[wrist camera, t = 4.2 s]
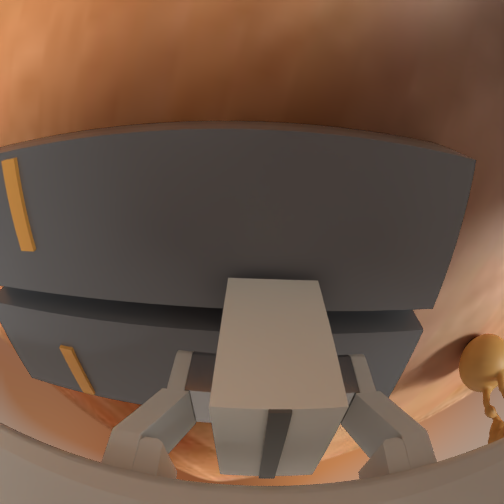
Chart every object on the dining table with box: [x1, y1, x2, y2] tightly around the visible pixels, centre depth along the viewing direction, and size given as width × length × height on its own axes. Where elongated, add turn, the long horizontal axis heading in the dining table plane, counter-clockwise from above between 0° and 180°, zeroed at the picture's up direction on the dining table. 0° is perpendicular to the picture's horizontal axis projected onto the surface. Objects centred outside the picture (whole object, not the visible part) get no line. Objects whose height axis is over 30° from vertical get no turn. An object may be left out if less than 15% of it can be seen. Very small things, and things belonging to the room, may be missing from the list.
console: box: [0, 121, 476, 405], centre depth 13 cm, size 22×14×3 cm, turn 88°
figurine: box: [459, 334, 504, 444], centre depth 11 cm, size 8×6×12 cm
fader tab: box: [209, 278, 349, 478], centre depth 10 cm, size 3×4×7 cm, turn 178°
